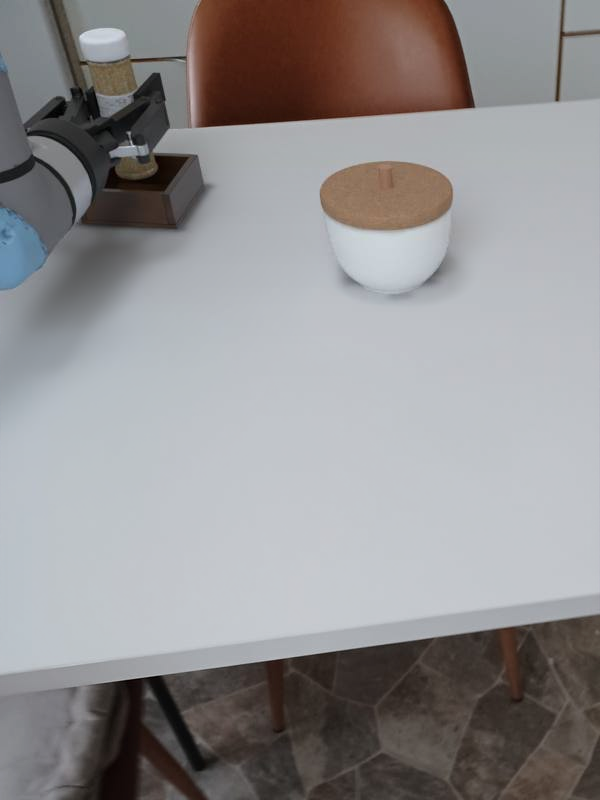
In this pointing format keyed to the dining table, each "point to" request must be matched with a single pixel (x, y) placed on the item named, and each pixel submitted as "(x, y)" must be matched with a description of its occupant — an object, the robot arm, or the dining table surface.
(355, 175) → the lidded bowl
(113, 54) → the brown spice jar
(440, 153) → the dining table surface
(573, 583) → the dining table surface
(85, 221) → the box
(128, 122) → the robot arm
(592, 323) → the dining table surface
